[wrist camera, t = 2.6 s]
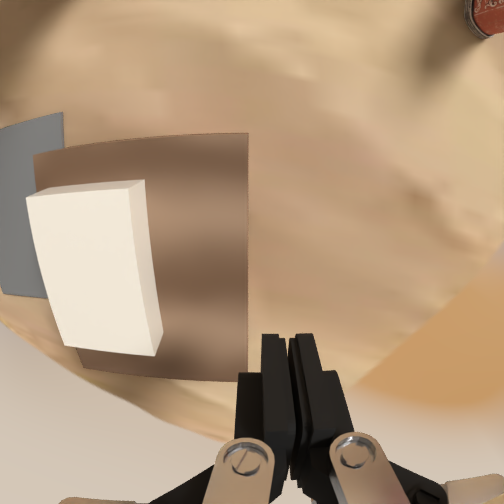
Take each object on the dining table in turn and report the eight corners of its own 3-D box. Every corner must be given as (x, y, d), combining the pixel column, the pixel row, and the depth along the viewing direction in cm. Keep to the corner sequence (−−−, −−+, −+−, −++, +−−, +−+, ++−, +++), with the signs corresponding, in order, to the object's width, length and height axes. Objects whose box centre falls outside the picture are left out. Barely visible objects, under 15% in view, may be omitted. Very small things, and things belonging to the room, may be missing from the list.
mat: (-24, 138, 16) (-27, 138, 16) (62, 112, 16) (60, 112, 16) (4, 291, 22) (3, 293, 21) (88, 299, 22) (87, 301, 21)
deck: (67, 147, 17) (32, 155, 14) (248, 132, 17) (247, 134, 14) (102, 336, 23) (83, 367, 19) (248, 344, 23) (247, 382, 19)
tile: (48, 187, 14) (25, 197, 12) (144, 179, 14) (128, 188, 12) (79, 325, 18) (64, 345, 16) (163, 332, 18) (154, 356, 16)
